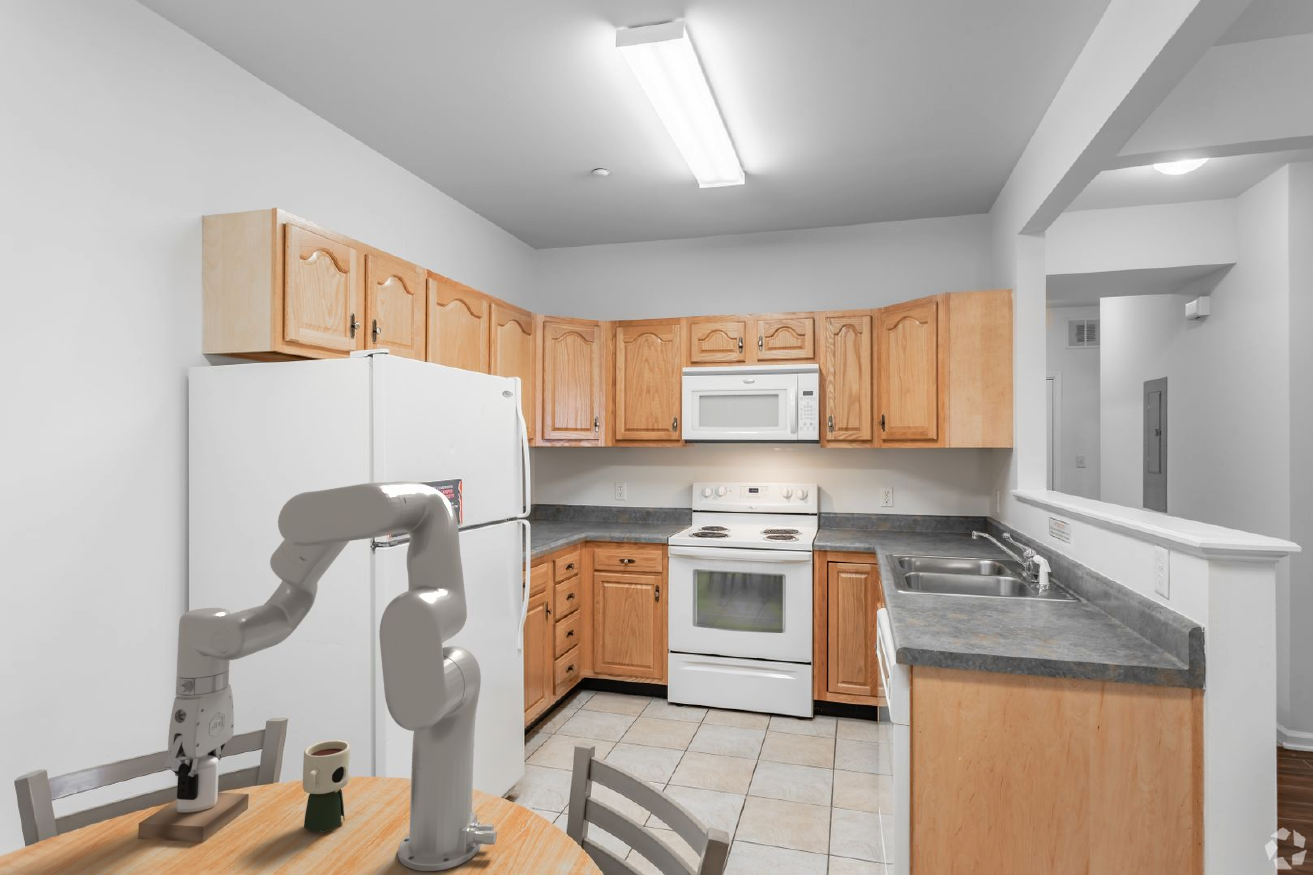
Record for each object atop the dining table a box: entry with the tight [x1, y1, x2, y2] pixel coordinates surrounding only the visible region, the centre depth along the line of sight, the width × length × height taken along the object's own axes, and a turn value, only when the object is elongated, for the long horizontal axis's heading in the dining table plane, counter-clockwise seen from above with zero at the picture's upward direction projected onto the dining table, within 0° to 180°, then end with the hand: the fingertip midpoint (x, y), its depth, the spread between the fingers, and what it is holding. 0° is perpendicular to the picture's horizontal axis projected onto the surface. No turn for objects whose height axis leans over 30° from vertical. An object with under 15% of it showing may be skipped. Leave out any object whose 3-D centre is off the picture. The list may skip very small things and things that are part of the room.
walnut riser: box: [137, 791, 250, 843], centre depth 114 cm, size 11×11×2 cm
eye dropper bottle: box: [176, 753, 220, 813], centre depth 115 cm, size 4×6×12 cm
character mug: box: [302, 739, 351, 833], centre depth 114 cm, size 11×7×13 cm, turn 0°
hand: (197, 790), depth 115 cm, fingers closed on eye dropper bottle, 4 cm apart
